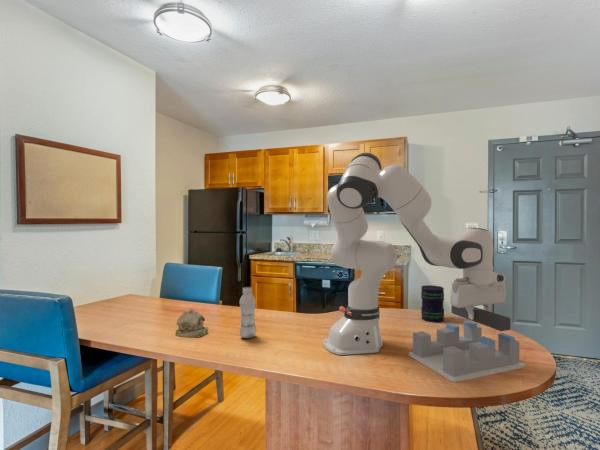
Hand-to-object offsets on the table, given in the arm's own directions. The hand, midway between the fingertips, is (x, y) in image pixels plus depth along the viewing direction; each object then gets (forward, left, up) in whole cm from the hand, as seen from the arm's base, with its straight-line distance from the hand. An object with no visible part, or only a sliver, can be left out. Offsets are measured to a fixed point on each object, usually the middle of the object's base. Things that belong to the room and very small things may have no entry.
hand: (478, 318), depth 108 cm
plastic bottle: (-69, +47, -14) cm, 85 cm away
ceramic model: (-90, +61, -14) cm, 110 cm away
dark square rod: (0, 0, -1) cm, 1 cm away
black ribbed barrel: (+16, +40, -14) cm, 46 cm away
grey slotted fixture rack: (-6, 0, -14) cm, 15 cm away
